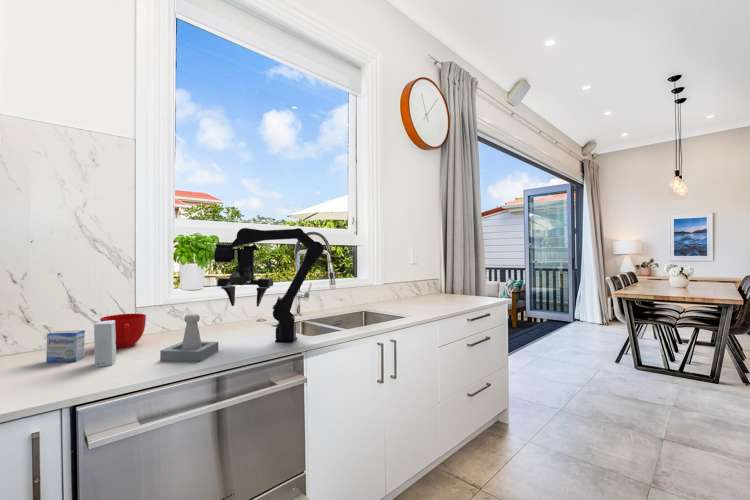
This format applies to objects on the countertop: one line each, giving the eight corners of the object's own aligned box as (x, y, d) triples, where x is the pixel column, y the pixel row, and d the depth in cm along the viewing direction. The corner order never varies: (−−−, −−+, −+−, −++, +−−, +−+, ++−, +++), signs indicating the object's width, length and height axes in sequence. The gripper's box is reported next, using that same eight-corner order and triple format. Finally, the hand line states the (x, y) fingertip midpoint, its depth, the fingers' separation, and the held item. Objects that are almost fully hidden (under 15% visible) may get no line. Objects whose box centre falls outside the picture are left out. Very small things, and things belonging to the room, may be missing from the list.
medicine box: (45, 363, 109) (45, 333, 109) (55, 358, 113) (55, 330, 113) (76, 362, 110) (76, 332, 110) (85, 357, 114) (85, 329, 114)
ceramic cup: (102, 355, 116) (102, 323, 116) (99, 344, 130) (99, 315, 130) (150, 349, 125) (150, 319, 125) (143, 339, 138) (143, 312, 138)
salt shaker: (200, 357, 116) (200, 315, 116) (179, 358, 114) (180, 316, 114) (203, 352, 121) (203, 312, 121) (183, 353, 120) (184, 313, 120)
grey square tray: (218, 350, 123) (218, 341, 123) (199, 361, 111) (199, 351, 111) (183, 349, 124) (183, 340, 124) (160, 360, 112) (160, 350, 112)
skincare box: (112, 365, 107) (112, 323, 107) (93, 367, 105) (93, 324, 105) (116, 359, 112) (116, 319, 112) (98, 361, 110) (98, 320, 110)
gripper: (209, 263, 127) (209, 309, 127) (262, 264, 126) (262, 310, 126) (224, 262, 138) (224, 304, 138) (273, 263, 137) (273, 305, 137)
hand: (245, 306), depth 135 cm, fingers open, 9 cm apart
